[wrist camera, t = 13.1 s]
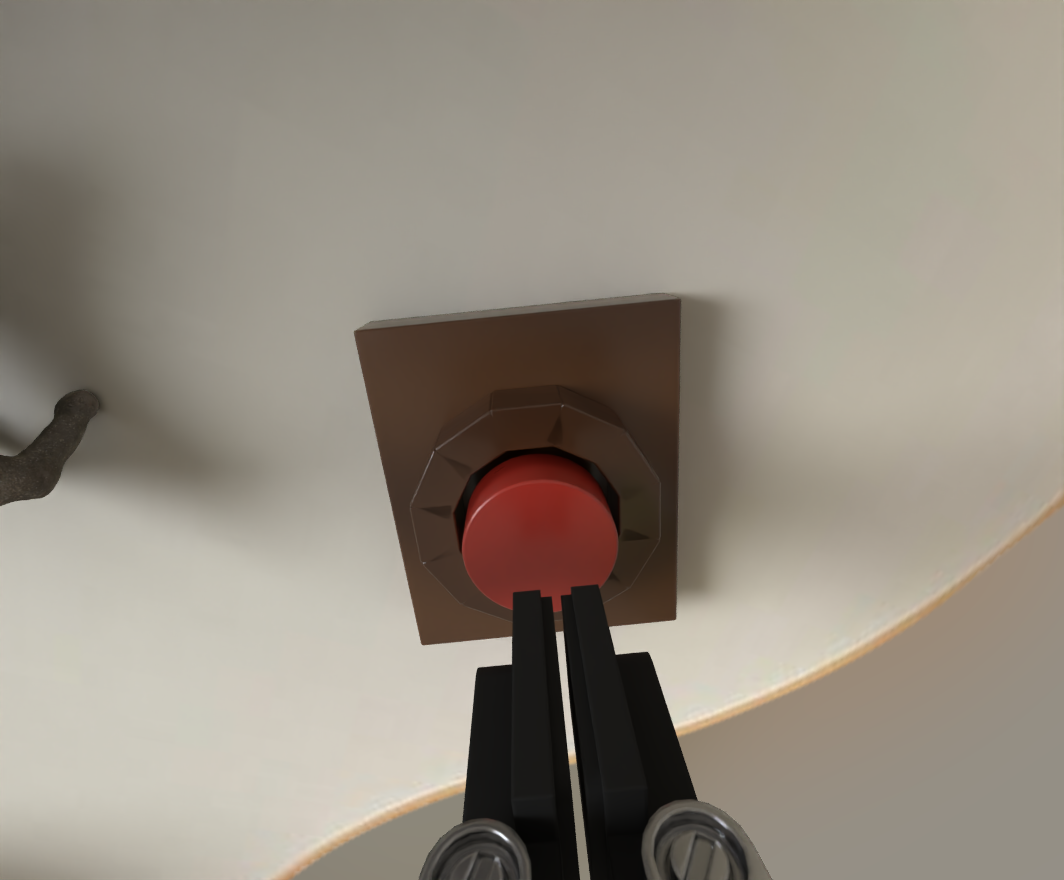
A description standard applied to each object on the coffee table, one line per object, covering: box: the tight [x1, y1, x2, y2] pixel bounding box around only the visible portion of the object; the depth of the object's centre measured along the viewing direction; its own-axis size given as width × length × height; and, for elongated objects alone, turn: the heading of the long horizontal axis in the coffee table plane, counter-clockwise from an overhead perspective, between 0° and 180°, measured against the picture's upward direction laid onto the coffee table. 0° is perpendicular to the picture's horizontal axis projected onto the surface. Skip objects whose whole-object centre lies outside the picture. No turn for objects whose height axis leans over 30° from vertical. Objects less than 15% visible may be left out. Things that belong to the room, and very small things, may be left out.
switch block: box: [354, 293, 681, 645], centre depth 16 cm, size 11×9×4 cm
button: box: [462, 454, 618, 612], centre depth 14 cm, size 4×4×2 cm
